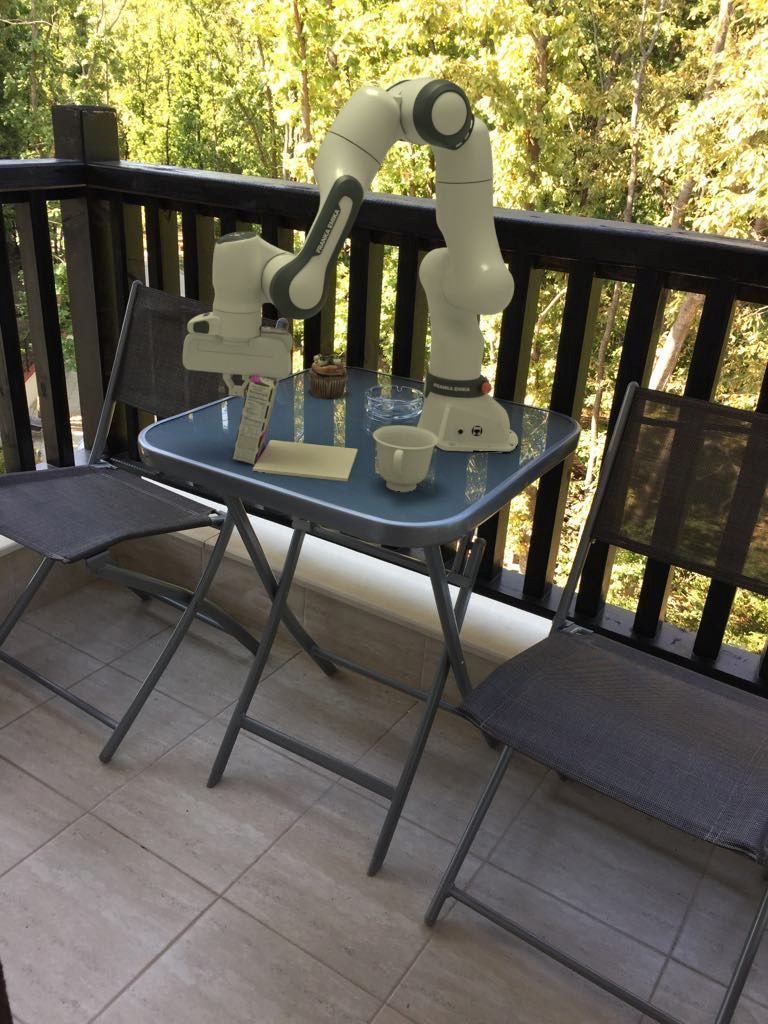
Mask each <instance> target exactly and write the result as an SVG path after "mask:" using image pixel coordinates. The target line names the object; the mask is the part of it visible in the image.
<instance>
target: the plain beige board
mask: <svg viewBox="0 0 768 1024" xmlns="http://www.w3.org/2000/svg"><path fill="white" fill-rule="evenodd" d="M357 455H358V448H351V447H343V446H333V445H324V444H323V445H321V444H314V443H313V444H312V443H303V442H295V441H285V440H284V441H283V440H275V439H270V440H269V442H268V444H267V445H266V447H265V449H264V450H263V451H262V453H261V454H260V455H259V457H258V460H257V462H256V464H255V465H253V467H252V472H253V471H258V472H257V473H262V472H265V473H264V474H272V475H274V474H275V475H282V476H283V475H284V476H290V477H291V476H293V477H302V478H311V479H322V480H330V481H340V482H348V481H349V478H350V475H351V471H352V469H353V467H354V464H355V460H356V457H357Z"/></svg>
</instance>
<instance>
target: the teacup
mask: <svg viewBox="0 0 768 1024" xmlns="http://www.w3.org/2000/svg"><path fill="white" fill-rule="evenodd" d="M372 437H373V439H374V440H375V442H376V452H377V468H378V473H379V475H380V477H382V479H383V480H384V481H386V482H385V486H386V488H388V489H389V490H391V491H393V490H394V491H393V492H397V491H400V492H399V493H407V492H406V491H411V492H413V491H412V490H414V489H415V488H416V487H418V486H417V484H420V483H421V482H422V481H423V480H424V479H425V478H426V476H427V475H428V472H429V468H430V465H431V460H432V455H433V451H434V448H435V446H436V444H437V443H438V442H439V440H438V437H437V436H436V435H435V434H434V433H432V432H430V431H428V430H425V429H422V428H418V427H417V426H411V425H401V424H400V425H386V426H383V427H379V428H378V429H376V430H375V431H373V433H372ZM416 489H417V488H416ZM416 489H415V490H416ZM415 490H414V491H415Z"/></svg>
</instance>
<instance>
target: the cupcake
mask: <svg viewBox="0 0 768 1024" xmlns="http://www.w3.org/2000/svg"><path fill="white" fill-rule="evenodd" d="M313 361H314V362H313V363H312V364H311V368H310V369H309V370H308V371H307V377H308V378H307V379H308V381H309V382H308V383H309V386H310V389H309V390H310V394H311V395H312V396H313V397H316V398H318V399H324V400H325V399H326V400H328V399H329V400H333V399H339V398H340V399H341V398H342V397H343V395H344V391H345V388H346V384H347V381H348V373H347V372H346V367H345V365H343V363H342V359H340V358H338V357H337V356H335V353H333V352H332V353H331V352H329V353H323V352H318V353H317V354H316V355H314V356H313Z"/></svg>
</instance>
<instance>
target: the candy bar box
mask: <svg viewBox="0 0 768 1024" xmlns="http://www.w3.org/2000/svg"><path fill="white" fill-rule="evenodd" d="M279 382H280V378H270V377H261V376H257V375H252V377H251V378H250V380H249V383H248V385H247V387H246V396H245V397H244V402H243V403H244V404H243V407H242V412H241V417H240V421H239V426H238V430H237V434H236V439H235V444H234V446H233V447H234V448H233V452H232V457H231V459H232V460H234V461H238V462H241V463H245V464H249V465H253V466H255V464H256V463H257V461H258V459H259V458H260V456H261V454H262V453H261V452H262V450H263V448H264V446H265V441H266V437H267V432H268V428H269V425H270V419H271V415H272V412H273V406H274V402H275V398H276V395H277V391H278V386H279Z"/></svg>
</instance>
